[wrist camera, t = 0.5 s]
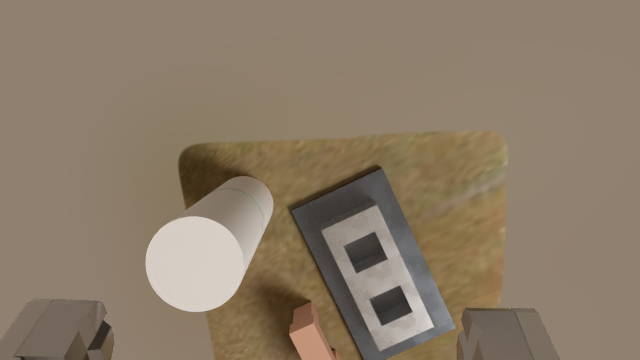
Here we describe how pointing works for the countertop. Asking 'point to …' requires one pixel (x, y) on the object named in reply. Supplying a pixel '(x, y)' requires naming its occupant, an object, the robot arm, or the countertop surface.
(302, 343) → the clip
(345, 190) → the grey slotted holder
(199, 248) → the cylindrical container
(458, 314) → the countertop surface
